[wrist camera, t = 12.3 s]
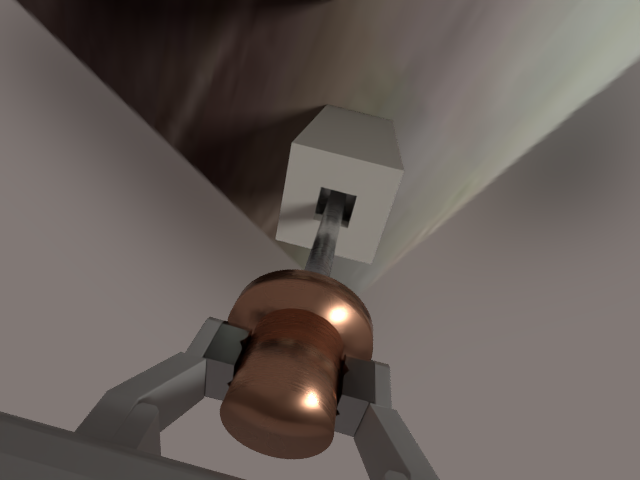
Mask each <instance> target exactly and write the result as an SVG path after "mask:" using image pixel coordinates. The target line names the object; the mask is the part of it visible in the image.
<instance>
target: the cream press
mask: <svg viewBox="0 0 640 480" xmlns="http://www.w3.org/2000/svg"><path fill="white" fill-rule="evenodd" d="M403 173H404V168H403V163H402V159H401V155H400V150H399V146H398V142H397V137H396V133H395V128H394V124H393V121H392V120H388V119H384V118H380V117H376V116H372V115H368V114H364V113H360V112H356V111H352V110H348V109H344V108H340V107H336V106H332V105H328V104H327V105H326V106H325V107H324V109H323V110H322V111H321V112H320V113H319V114H318V115H317V116H316V117H315V118H314V119H313V120H312V121H311V122H310V124H309V125H308V126H307V127H306V128H305V129H304V130H303V131H302V132H301V133H300V134H299V135H298V136H297V137H296V139H295V140H294V141H293V142H292V144H291V150H290V156H289V162H288V168H287V174H286V180H285V186H284V192H283V198H282V204H281V210H280V216H279V222H278V228H277V234H276V240H279V241H283V242H287V243H291V244H295V245H299V246H302V247H306V248H310V249H312V246H313V243H314V240H315V237H316V234H317V231H318V228H319V225H320V222H321V219H322V216H323V215H320V214H316V209H317V205H318V201H319V196H320V192H321V187H324V188H328V189H331V190H335V191H339V192H343V193H347V194H351V195H355V196H356V199H355V202H354V206H353V209H352V213H351V216H350V220H349V222H347V221H344V220H341V224H340V229H339V234H338V239H337V243H336V248H335V253H334V255H337V256H341V257H345V258H349V259H352V260H356V261H360V262H364V263H368V264H372V261H373V258H374V255H375V253H376V250H377V247H378V244H379V241H380V238H381V236H382V233H383V230H384V227H385V224H386V221H387V219H388V216H389V213H390V210H391V207H392V204H393V201H394V199H395V196H396V193H397V190H398V187H399V184H400V182H401V179H402V176H403Z"/></svg>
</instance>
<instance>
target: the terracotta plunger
mask: <svg viewBox="0 0 640 480" xmlns="http://www.w3.org/2000/svg"><path fill="white" fill-rule="evenodd" d="M355 199H356V196H355V195H351V194H347V193H343V192H339V191H335V190H331V189H328V188H324V187H321V192H320V196H319V201H318V205H317V209H316V214H320V215H323V216H322V219H321V222H320V225H319V228H318V231H317V234H316V237H315V240H314V243H313V246H312V249H311V252H310V255H309V258H308V261H307V264H306V267H305V270H280V271H275V272H271V273H268V274H265V275H263V276H260V277H259V278H257V279H255V280H254V281H252V282H251V283H250V284H249V285H247V286H246V288H245V289H244V290H243V291H242V293H241V295H240V296H239V298H238V299H237V301H236V303H235V305H234V307H233V308H232V310H231V312H230V314H229V317H228V321H227V322H231V323H234V324H237V325H241V326H244V327H248V328H251V329H252V336H251V339H250V341H249V343H248V345H247V348H246V350H245V352H244V354H243V357H242V359H241V361H240V364H239V366H238V368H237V370H236V373H235V375H234V377H233V380H232V382H231V384H230V386H229V389H228V391H227V393H226V395H225V398H224V400H223V402H222V405H221V408H220V417H221V421H222V423H223V425H224V427H225V428H226V430H227V431H228V432H229V433H230V434H231V435H232V436H233V437H234V438H235V439H236V440H237V441H239V442H240V443H242V444H243V445H245V446H246V447H248V448H250V449H252V450H254V451H256V452H259V453H262V454H265V455H268V456H272V457H276V458H284V459H303V458H309V457H312V456H315V455H318V454H320V453H322V452H323V451H324V450H326V449H327V448H328V447H329V446H330V444H331V442H332V440H333V437H334V428H335V419H336V411H337V401H338V392H339V384H340V374H341V366H342V359H343V357H344V355H345V353H346V354H350V355H354V356H358V357H362V358H366V359H369V360H371V358H372V352H373V325H372V320H371V317H370V315H369V312H368V310H367V308H366V307H365V306H364V303H363V302H362V301H361V300H360V298H359V297H358V296H357V295H356V294H355V293H354V292H353V291H352V290H350V289H349V288H348V287H346V286H345V285H343V284H342V283H340V282H338V281H337V280H335V279H333V278H330V272H331V267H332V263H333V258H334V253H335V248H336V243H337V239H338V234H339V229H340V224H341V220H344V221H347V222H349V220H350V216H351V213H352V209H353V206H354V202H355Z"/></svg>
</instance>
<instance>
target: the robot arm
mask: <svg viewBox="0 0 640 480" xmlns="http://www.w3.org/2000/svg"><path fill="white" fill-rule="evenodd" d="M251 336H252V329H251V328H248V327H244V326H241V325H237V324H234V323H231V322H227V321H223V320H219V319H216V318H213V317H209V318H208V319H207V320H206V321H205V323H204V324H203V326H202V327H201V329H200V331H199V332H198V334H197V335H196V337H195V338H194V340H193V341H192V343H191V345H190V346H189V348H188V349H187V351H186V352H185V353H183V352H180V353H178V354H176V355H174V356H172V357H170V358H168V359H167V360H165V361H163V362H161V363H159V364H157V365H155V366H153V367H151V368H150V369H148V370H146V371H144V372H142V373H140V374H138V375H136V376H135V377H133V378H131V379H129V380H127V381H125V382H123V383H121V384H120V385H118V386H116V387H114V388H112V389H110V390H108V391H107V392H106V393H105V395H104V396H103V397H102V398H101V399H100V401H99V402H98V403H97V405H96V406H95V407H94V408H93V409H92V411H91V412H90V413H89V414H88V416H87V417H86V418H85V419H84V421H83V422H82V423H81V424H80V426H79V427H78V428H77V429H76V431H75V432H72V431H68V430H65V429H61V428H57V427H54V426H50V425H47V424H43V423H40V422H36V421H32V420H29V419H25V418H21V417H18V416H14V415H10V414H7V413H4V412H0V480H245V479H241V478H238V477H234V476H230V475H227V474H223V473H219V472H216V471H212V470H209V469H205V468H202V467H198V466H194V465H191V464H187V463H184V462H180V461H176V460H173V459H169V458H166V457H162V456H161V448H160V432H161V431H162V430H164V429H165V428H166V427H167V426H169V425H170V424H171V423H172V422H174V421H175V420H176V419H178V418H179V417H180V416H182V415H183V414H184V413H185V412H186V411H188V410H189V409H190V408H192V407H193V406H194V405H196V404H197V403H198V402H199V401H201V400H202V399H203V398H204V396H206V397H210V398H214V399H218V400H222V401H223V400H224V398H225V395H226V393H227V391H228V389H229V386H230V384H231V382H232V380H233V377H234V375H235V373H236V370H237V368H238V366H239V364H240V361H241V359H242V357H243V354H244V352H245V350H246V348H247V345H248V343H249V341H250V339H251ZM390 381H391V380H390V367H389V365H388V364H384V363H381V362H377V361H373V360H369V359H366V358H362V357H358V356H354V355H350V354H346V353H345V355H344V357H343V359H342V366H341V374H340V384H339V392H338V401H337V411H336V419H335V428H334V431H336V432H339V433H342V434H346V435H349V436H352V437H354V441H355V443H356V446H357V448H358V451H359V453H360V456H361V458H362V461H363V463H364V465H365V468H366V471H367V473H368V476H369V478H370V480H440V479H439V478H438V476H437V475H436V473H435V471H434V470H433V468H432V467H431V465H430V463H429V462H428V460H427V459H426V457H425V456H424V454H423V452H422V451H421V449H420V447H419V446H418V444H417V443H416V441H415V439H414V438H413V436H412V435H411V433H410V431H409V430H408V428H407V427H406V425H405V423H404V422H403V421H402V419H401V417H400V415H399V414H398V412H397V411H396V410H394V409H392V401H391V382H390Z"/></svg>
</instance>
